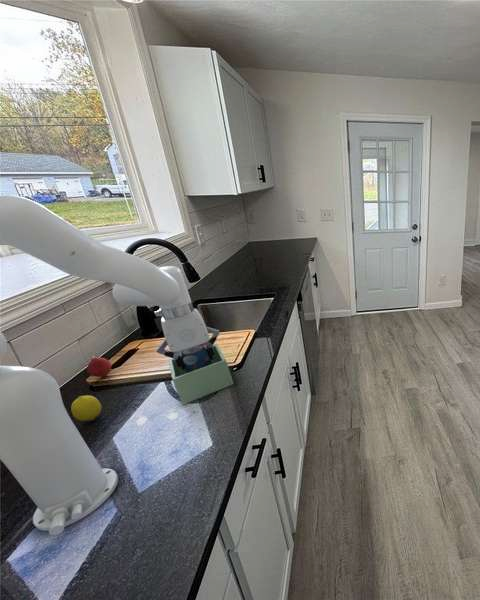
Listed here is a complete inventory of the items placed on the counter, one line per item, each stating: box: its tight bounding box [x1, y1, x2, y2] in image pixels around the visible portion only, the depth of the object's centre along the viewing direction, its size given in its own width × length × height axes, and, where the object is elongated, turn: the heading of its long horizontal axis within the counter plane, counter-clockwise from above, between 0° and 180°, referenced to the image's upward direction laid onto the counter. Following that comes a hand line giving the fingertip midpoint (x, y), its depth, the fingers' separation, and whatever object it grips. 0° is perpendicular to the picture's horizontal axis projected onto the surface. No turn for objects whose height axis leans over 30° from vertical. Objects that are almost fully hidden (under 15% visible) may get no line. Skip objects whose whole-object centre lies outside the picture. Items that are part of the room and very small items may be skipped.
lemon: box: [70, 395, 102, 422], centre depth 85 cm, size 6×6×8 cm
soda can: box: [181, 344, 212, 373], centre depth 96 cm, size 7×7×12 cm
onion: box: [86, 355, 112, 378], centre depth 104 cm, size 6×6×8 cm
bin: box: [167, 343, 235, 406], centre depth 97 cm, size 14×14×9 cm
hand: (197, 362), depth 95 cm, fingers closed on soda can, 7 cm apart
